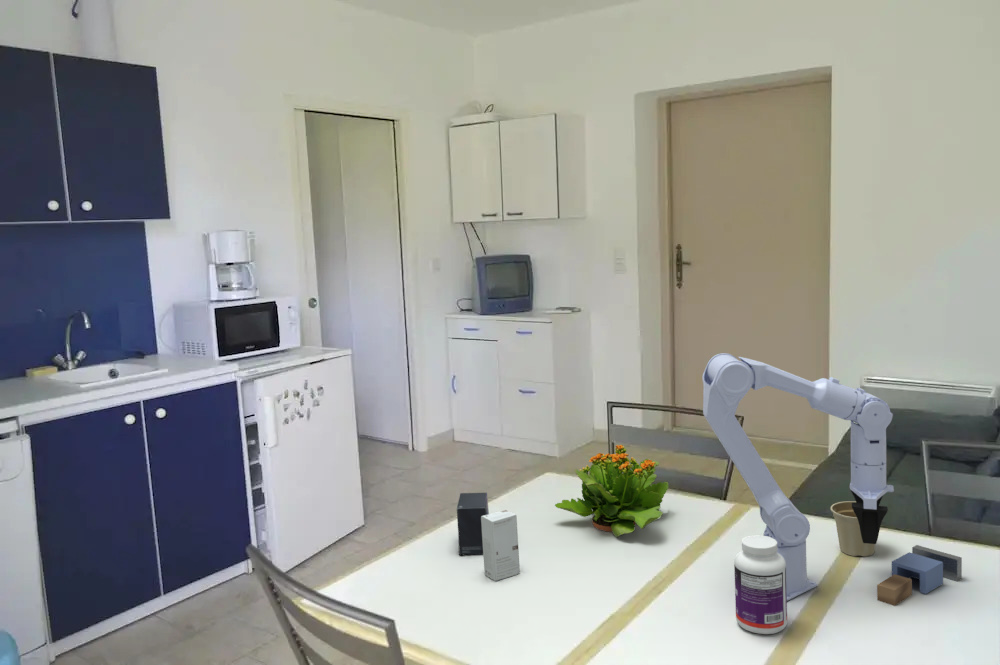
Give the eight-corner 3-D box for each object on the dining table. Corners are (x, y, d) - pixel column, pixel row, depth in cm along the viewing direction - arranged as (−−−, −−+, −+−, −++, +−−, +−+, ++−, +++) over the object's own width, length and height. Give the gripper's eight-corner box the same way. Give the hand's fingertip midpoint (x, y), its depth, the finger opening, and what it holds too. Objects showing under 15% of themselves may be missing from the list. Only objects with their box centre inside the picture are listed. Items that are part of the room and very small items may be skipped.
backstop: (957, 581, 140) (957, 560, 140) (912, 567, 147) (912, 547, 146) (961, 578, 141) (961, 557, 141) (916, 565, 148) (916, 544, 147)
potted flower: (546, 540, 172) (541, 462, 170) (568, 504, 194) (564, 435, 192) (662, 546, 164) (659, 465, 162) (671, 508, 187) (668, 436, 185)
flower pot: (877, 564, 149) (876, 520, 148) (825, 555, 155) (824, 512, 154) (888, 547, 157) (887, 505, 156) (838, 538, 162) (837, 498, 161)
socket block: (925, 593, 136) (925, 571, 136) (891, 582, 141) (891, 561, 141) (943, 583, 139) (943, 562, 139) (909, 573, 144) (909, 552, 144)
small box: (489, 554, 166) (486, 506, 165) (458, 556, 166) (455, 508, 165) (491, 536, 177) (488, 490, 175) (462, 537, 177) (458, 492, 176)
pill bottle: (747, 609, 135) (745, 528, 134) (794, 621, 130) (792, 537, 128) (728, 628, 129) (725, 544, 127) (776, 642, 124) (774, 554, 122)
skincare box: (495, 582, 152) (491, 522, 151) (483, 574, 156) (479, 516, 155) (521, 573, 156) (517, 514, 154) (509, 566, 160) (505, 508, 158)
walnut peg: (894, 607, 133) (894, 590, 133) (877, 601, 135) (877, 584, 135) (911, 595, 137) (911, 579, 136) (894, 590, 139) (894, 574, 139)
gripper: (896, 474, 131) (896, 552, 133) (890, 451, 144) (890, 522, 146) (850, 472, 134) (850, 548, 136) (848, 449, 147) (849, 519, 149)
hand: (868, 534), depth 141 cm, fingers open, 7 cm apart
